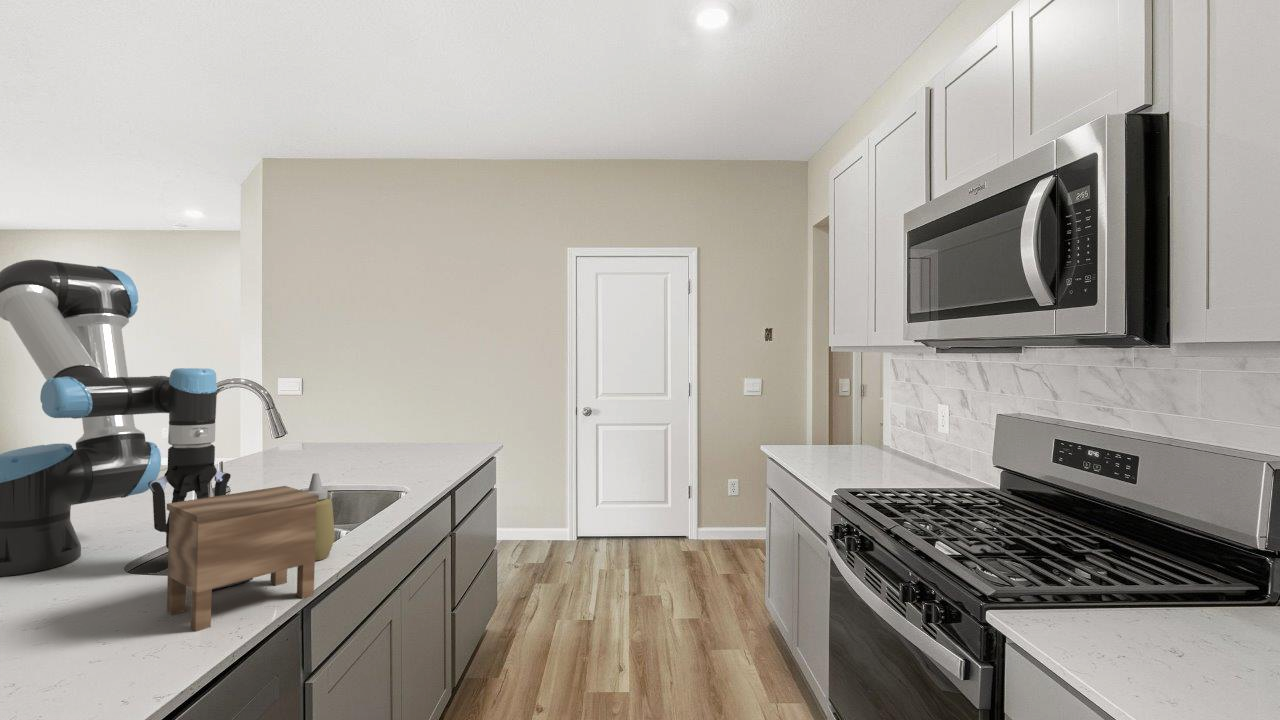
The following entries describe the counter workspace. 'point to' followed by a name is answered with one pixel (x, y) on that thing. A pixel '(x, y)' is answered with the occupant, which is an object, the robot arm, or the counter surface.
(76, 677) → the counter surface
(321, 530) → the squeeze bottle
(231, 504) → the walnut cabinet
